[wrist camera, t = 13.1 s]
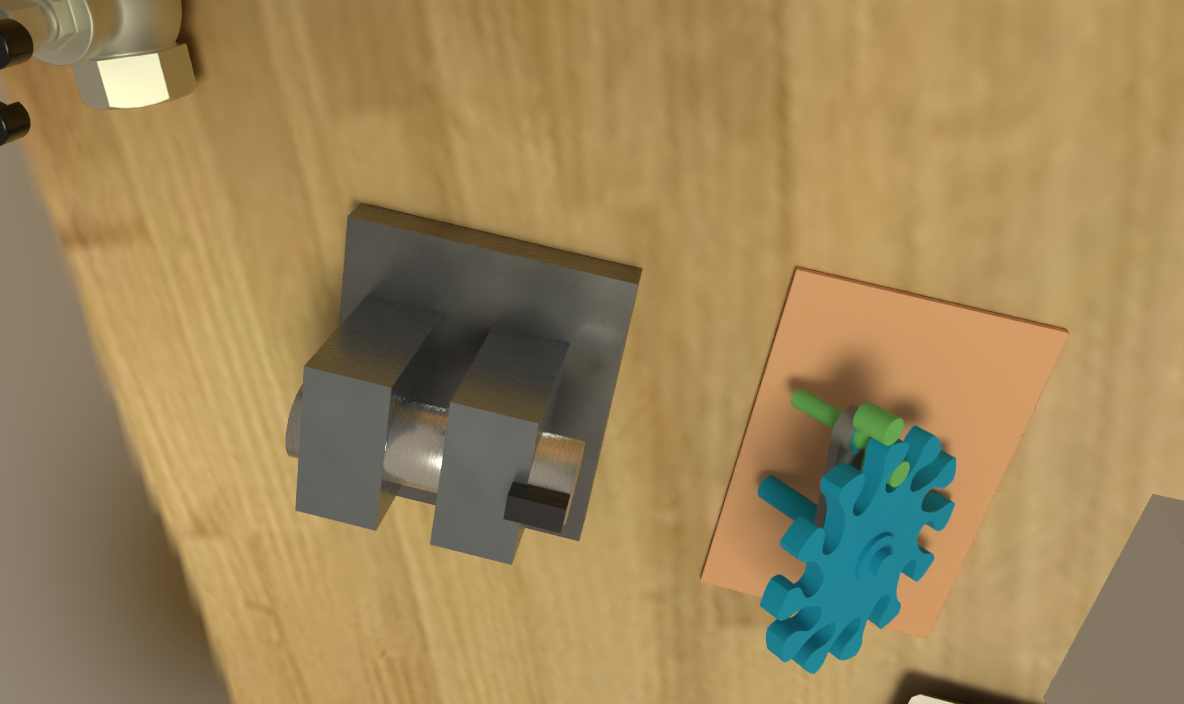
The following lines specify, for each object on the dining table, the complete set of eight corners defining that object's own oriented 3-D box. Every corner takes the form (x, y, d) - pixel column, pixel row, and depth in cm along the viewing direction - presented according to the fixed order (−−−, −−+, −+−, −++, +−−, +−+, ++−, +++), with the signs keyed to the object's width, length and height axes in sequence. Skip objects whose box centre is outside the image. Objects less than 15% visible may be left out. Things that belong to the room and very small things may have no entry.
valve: (93, 91, 38) (-166, 184, 28) (37, -100, 35) (-276, -76, 25) (254, 81, 37) (50, 175, 26) (209, -116, 34) (-40, -100, 24)
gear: (938, 618, 41) (772, 728, 36) (826, 543, 46) (661, 631, 40) (1004, 384, 36) (823, 468, 31) (872, 323, 40) (691, 387, 35)
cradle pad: (796, 266, 37) (796, 269, 37) (1067, 329, 36) (1069, 333, 36) (700, 577, 44) (700, 581, 44) (926, 633, 43) (927, 638, 43)
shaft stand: (362, 203, 38) (267, 287, 31) (642, 269, 38) (613, 370, 31) (341, 459, 44) (256, 581, 37) (584, 519, 44) (548, 656, 36)
